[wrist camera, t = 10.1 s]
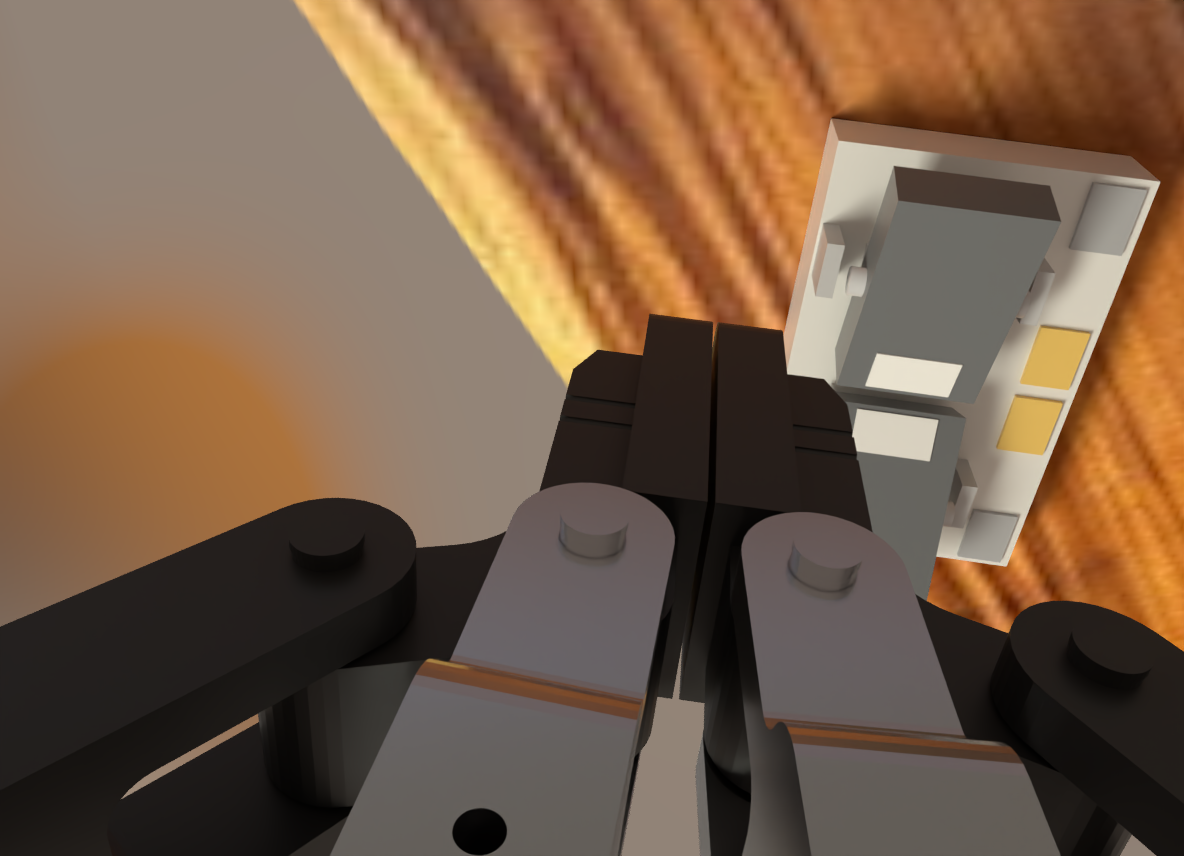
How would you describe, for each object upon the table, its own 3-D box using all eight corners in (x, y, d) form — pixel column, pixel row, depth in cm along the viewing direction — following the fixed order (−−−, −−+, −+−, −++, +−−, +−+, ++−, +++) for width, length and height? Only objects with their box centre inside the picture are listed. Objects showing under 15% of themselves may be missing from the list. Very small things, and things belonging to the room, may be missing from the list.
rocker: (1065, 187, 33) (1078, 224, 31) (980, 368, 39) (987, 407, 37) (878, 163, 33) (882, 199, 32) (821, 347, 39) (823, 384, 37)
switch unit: (1130, 156, 37) (1183, 200, 33) (990, 524, 46) (1017, 597, 42) (831, 118, 38) (844, 157, 34) (749, 490, 47) (752, 558, 43)
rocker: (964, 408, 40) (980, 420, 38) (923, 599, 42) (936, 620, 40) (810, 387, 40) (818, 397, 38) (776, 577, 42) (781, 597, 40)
